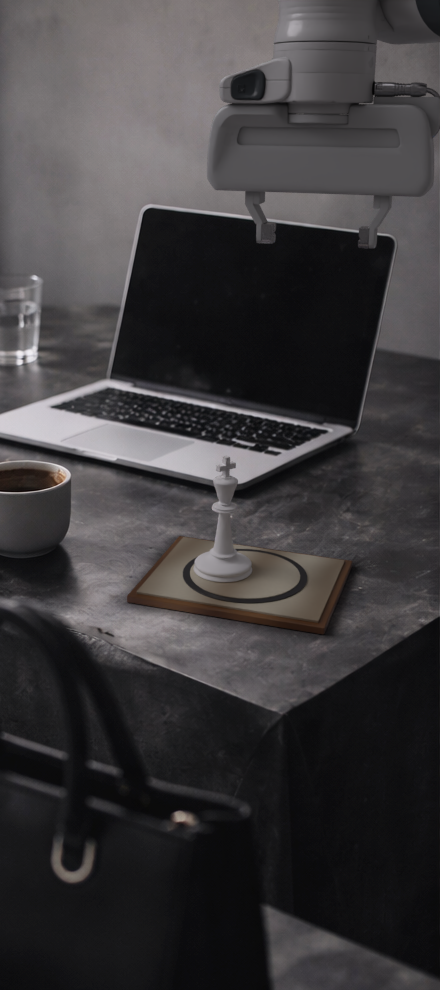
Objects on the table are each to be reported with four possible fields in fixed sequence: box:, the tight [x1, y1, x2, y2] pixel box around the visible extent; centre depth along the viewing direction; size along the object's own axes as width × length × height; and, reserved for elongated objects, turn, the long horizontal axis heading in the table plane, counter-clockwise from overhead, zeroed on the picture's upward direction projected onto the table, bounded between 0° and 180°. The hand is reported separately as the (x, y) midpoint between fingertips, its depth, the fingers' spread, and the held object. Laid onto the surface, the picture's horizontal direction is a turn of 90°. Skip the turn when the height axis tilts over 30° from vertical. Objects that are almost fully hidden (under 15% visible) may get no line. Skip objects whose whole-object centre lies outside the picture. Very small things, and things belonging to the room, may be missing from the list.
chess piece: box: [193, 455, 252, 582], centre depth 80 cm, size 5×5×10 cm
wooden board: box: [126, 535, 353, 635], centre depth 82 cm, size 16×13×1 cm
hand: (315, 245), depth 90 cm, fingers open, 8 cm apart
